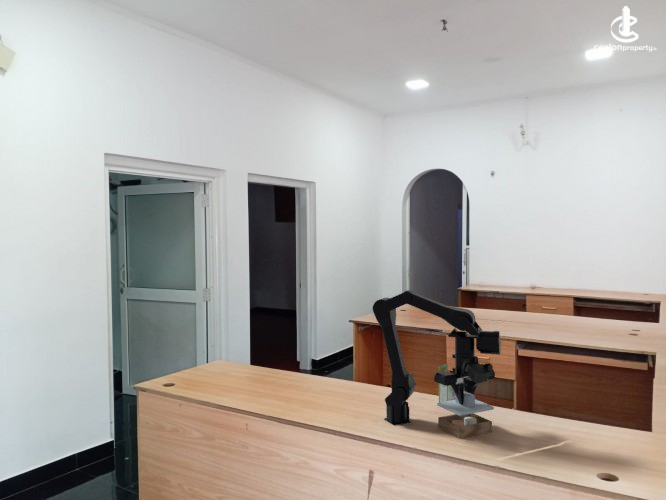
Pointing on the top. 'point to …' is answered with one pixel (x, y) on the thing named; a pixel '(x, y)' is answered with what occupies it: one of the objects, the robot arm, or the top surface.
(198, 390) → the top surface
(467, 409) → the lid
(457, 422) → the puck terracotta
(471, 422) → the puck cream
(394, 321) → the robot arm
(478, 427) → the box
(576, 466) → the top surface
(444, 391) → the ink box
